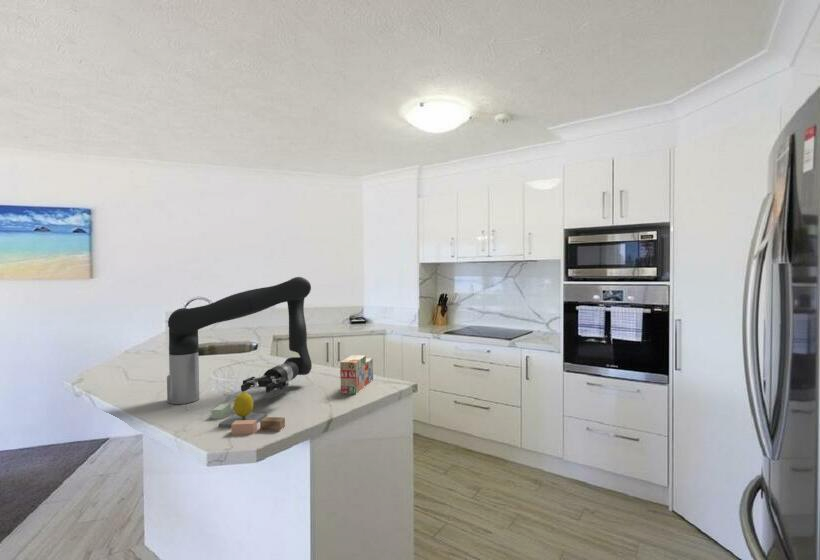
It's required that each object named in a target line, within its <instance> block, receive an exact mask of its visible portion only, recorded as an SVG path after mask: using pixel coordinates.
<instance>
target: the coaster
mask: <svg viewBox="0 0 820 560" xmlns="http://www.w3.org/2000/svg"><path fill="white" fill-rule="evenodd" d="M265 417H268V413H267V412H251V413H250V414H249V415H247V416H246V417H245V418H242V417H241V416H238V415H237V414H236V413H234V414H233V415H231V416H228V417H227V418H226V419H225V420H222V421H221V422H219V423H218V427H223V428H231V424H232V423H234V422H235V421H239V420H257V424H258V423H259V422H260V421H261V420H262V419H263V418H265Z"/></svg>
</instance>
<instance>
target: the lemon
mask: <svg viewBox="0 0 820 560" xmlns="http://www.w3.org/2000/svg"><path fill="white" fill-rule="evenodd" d="M253 409H254V400H253V397H252V396H251V394H249V393H248V392H246V391H244V392H242V391H241V393H239V394H238V395H237V396H235V399H234V403H233V411H234V414H237V415H238V416H241V417H242V418H245V417H246V416H247V415H249V414H250V413H252V412H253Z"/></svg>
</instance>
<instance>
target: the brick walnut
mask: <svg viewBox="0 0 820 560" xmlns="http://www.w3.org/2000/svg"><path fill="white" fill-rule="evenodd" d="M259 422H260V423H259V424H260V427H259V429H260V430H281V429H282V428H283V429H285V428H284V427H286V417H278V416H276V417H275V416H271V417H270V416H269V417H268V416H266V417H265V418H263V419H262V420H261V421H259ZM283 429H282V430H283ZM282 430H281V431H282Z"/></svg>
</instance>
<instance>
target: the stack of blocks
mask: <svg viewBox="0 0 820 560" xmlns="http://www.w3.org/2000/svg"><path fill="white" fill-rule="evenodd" d="M339 363H340V364H339V365H340V367H339V368H340V371H339V373H340V376H339V377H340V394H341V393H353V394H352V395H357V394H359V393H360V392H361V391H362V390H364V388H365V387H367V386H368V385H369V384H370V383H371V382H372V381H373V380H374V365H373V364H374V363H373V358H372V357H371V358H370V357H367V356H366V355H361V354H360V355H358V354H356V355H355V354H351V355H350V356H348V357H346V358H345V359H343V360H342V361H341V360H340V362H339ZM372 379H373V380H372ZM371 380H372V381H371ZM370 381H371V382H370ZM369 382H370V383H369ZM364 386H365V387H364ZM361 389H362V390H361ZM360 390H361V391H360ZM359 391H360V392H359ZM356 393H357V394H356Z"/></svg>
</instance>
